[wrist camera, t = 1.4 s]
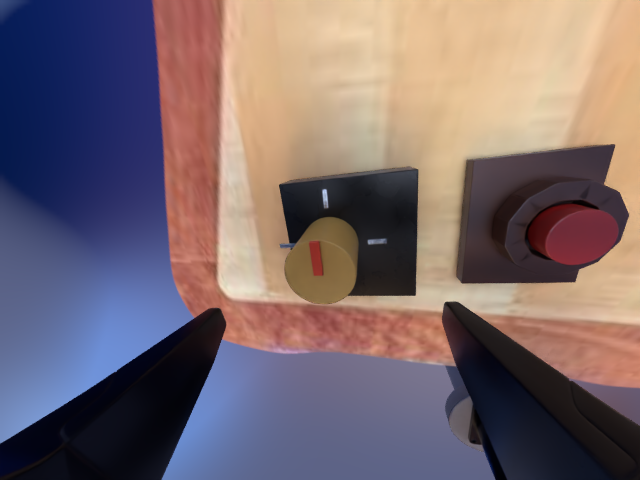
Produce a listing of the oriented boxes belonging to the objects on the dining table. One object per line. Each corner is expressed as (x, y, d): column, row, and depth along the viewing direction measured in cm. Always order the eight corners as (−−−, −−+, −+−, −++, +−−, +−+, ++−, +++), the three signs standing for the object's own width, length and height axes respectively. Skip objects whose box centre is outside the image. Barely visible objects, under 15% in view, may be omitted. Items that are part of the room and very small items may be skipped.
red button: (583, 253, 16) (609, 264, 14) (522, 255, 16) (539, 266, 15) (599, 200, 14) (628, 207, 13) (532, 205, 15) (552, 212, 13)
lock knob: (360, 267, 18) (358, 308, 14) (308, 268, 19) (289, 307, 15) (356, 214, 17) (353, 239, 12) (300, 218, 18) (276, 243, 13)
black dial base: (409, 277, 21) (416, 297, 18) (299, 279, 24) (289, 297, 21) (410, 166, 18) (419, 169, 15) (281, 181, 20) (267, 186, 17)
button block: (566, 274, 19) (601, 295, 16) (456, 276, 20) (470, 296, 18) (603, 144, 15) (655, 142, 13) (466, 159, 17) (486, 161, 14)
